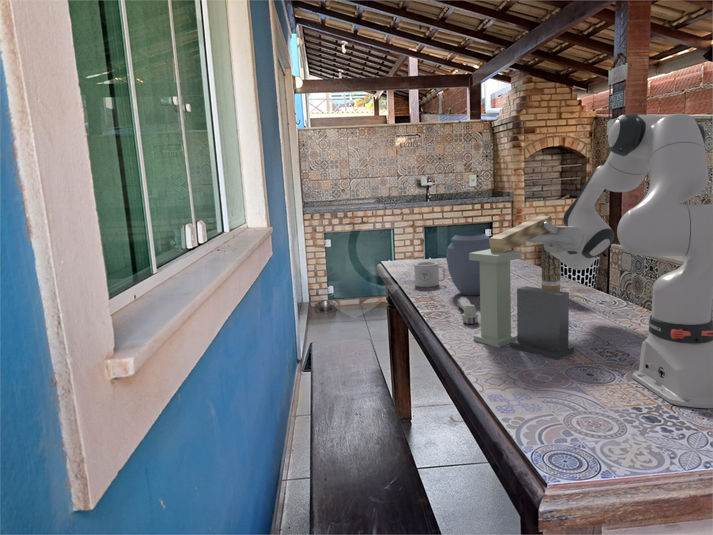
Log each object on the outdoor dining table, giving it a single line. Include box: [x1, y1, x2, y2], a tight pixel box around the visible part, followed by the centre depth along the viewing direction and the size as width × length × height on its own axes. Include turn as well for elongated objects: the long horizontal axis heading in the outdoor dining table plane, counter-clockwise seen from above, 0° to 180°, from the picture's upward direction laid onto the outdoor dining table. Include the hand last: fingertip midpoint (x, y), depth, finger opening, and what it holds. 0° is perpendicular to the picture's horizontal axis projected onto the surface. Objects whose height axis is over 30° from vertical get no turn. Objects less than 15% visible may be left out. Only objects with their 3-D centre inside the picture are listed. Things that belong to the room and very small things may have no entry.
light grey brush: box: [456, 296, 480, 325], centre depth 178 cm, size 5×7×25 cm
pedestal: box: [469, 249, 522, 348], centre depth 148 cm, size 10×10×26 cm
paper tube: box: [541, 244, 562, 291], centre depth 198 cm, size 7×7×25 cm
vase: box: [445, 232, 490, 296], centre depth 208 cm, size 20×20×24 cm
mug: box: [413, 260, 446, 288], centre depth 230 cm, size 14×11×10 cm
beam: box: [489, 215, 553, 253], centre depth 151 cm, size 24×4×4 cm, turn 125°
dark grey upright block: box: [510, 285, 575, 360], centre depth 138 cm, size 8×14×16 cm, turn 36°
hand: (535, 223), depth 154 cm, fingers closed on beam, 4 cm apart
